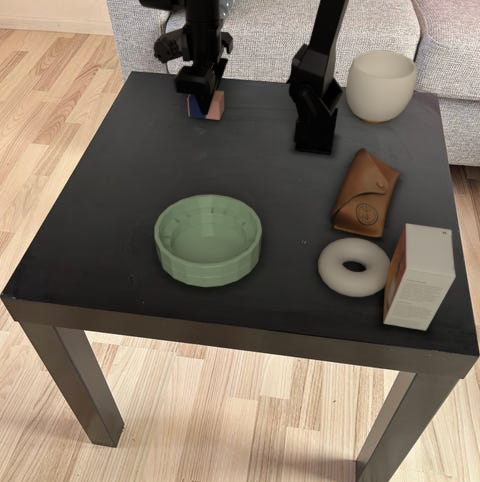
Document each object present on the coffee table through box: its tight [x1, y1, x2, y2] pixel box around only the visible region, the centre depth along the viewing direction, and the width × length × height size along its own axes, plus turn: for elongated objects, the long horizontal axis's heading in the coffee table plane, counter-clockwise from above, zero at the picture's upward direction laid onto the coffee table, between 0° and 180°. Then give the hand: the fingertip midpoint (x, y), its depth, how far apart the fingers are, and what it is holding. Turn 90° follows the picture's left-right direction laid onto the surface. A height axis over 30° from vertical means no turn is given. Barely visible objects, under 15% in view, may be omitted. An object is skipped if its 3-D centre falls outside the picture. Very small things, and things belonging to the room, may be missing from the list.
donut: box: [317, 237, 391, 298], centre depth 66 cm, size 10×4×10 cm
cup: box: [345, 49, 417, 124], centre depth 89 cm, size 12×12×10 cm
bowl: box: [154, 193, 263, 288], centre depth 68 cm, size 15×15×4 cm
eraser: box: [186, 90, 225, 121], centre depth 89 cm, size 6×4×4 cm
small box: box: [382, 223, 457, 331], centre depth 59 cm, size 8×6×10 cm
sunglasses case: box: [329, 147, 402, 239], centre depth 76 cm, size 18×7×7 cm
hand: (207, 108), depth 90 cm, fingers closed on eraser, 4 cm apart
